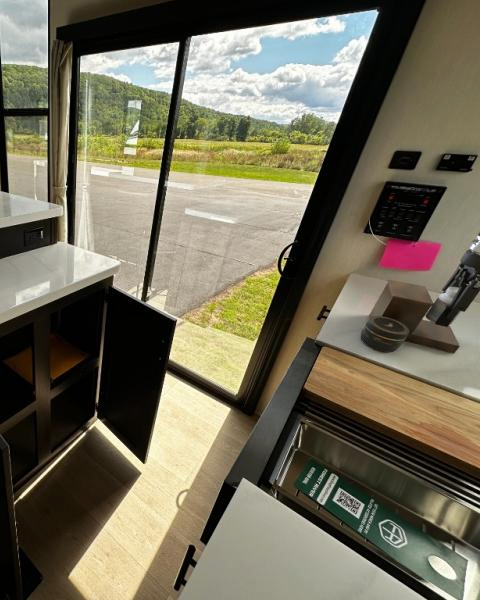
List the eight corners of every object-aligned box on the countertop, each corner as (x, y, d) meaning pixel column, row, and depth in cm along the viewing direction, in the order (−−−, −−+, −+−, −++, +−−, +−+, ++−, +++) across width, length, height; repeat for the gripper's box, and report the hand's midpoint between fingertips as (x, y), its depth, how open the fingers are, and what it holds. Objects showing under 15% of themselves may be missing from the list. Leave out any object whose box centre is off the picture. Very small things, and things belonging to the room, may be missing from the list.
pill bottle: (439, 315, 103) (461, 285, 97) (456, 326, 98) (480, 296, 92) (419, 314, 104) (439, 285, 98) (435, 325, 99) (457, 295, 92)
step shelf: (444, 332, 106) (472, 295, 98) (454, 353, 98) (486, 315, 90) (368, 314, 116) (388, 279, 108) (371, 332, 107) (393, 295, 99)
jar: (400, 343, 102) (413, 325, 98) (393, 358, 97) (407, 339, 93) (362, 329, 109) (373, 311, 104) (354, 342, 103) (364, 324, 99)
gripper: (458, 239, 96) (417, 302, 109) (478, 263, 83) (428, 331, 96) (494, 244, 93) (447, 308, 105) (521, 269, 80) (463, 340, 92)
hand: (438, 319), depth 101 cm, fingers closed on pill bottle, 6 cm apart
